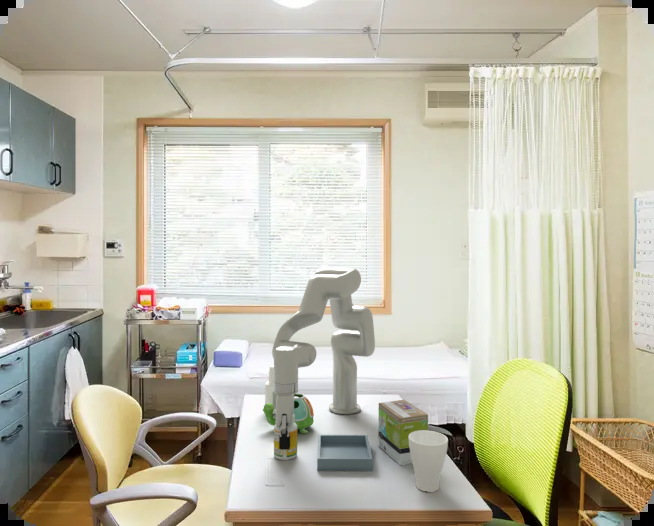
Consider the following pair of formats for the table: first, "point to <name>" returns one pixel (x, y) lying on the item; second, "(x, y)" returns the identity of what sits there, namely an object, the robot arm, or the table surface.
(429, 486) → the cup
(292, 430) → the supplement bottle
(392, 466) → the table surface
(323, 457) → the tray
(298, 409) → the turtle holder
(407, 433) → the tea box
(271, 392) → the spray bottle
